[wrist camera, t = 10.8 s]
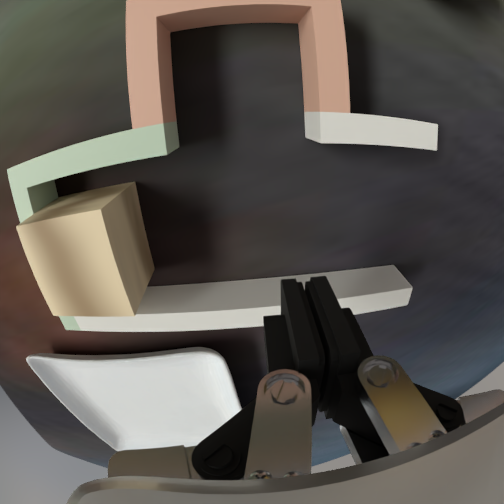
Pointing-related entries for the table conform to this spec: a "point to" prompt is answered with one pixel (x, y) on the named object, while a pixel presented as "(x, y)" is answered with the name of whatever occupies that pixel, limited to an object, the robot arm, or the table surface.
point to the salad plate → (143, 394)
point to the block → (90, 252)
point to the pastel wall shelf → (166, 140)
